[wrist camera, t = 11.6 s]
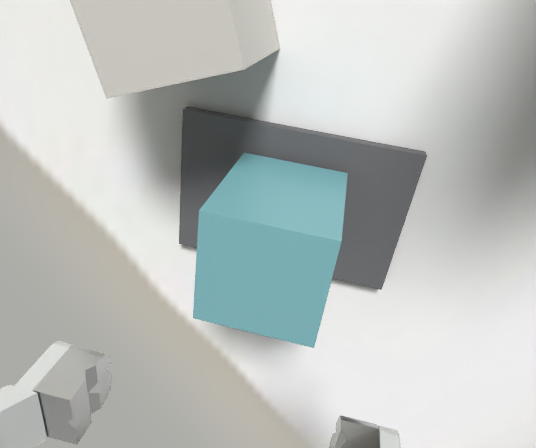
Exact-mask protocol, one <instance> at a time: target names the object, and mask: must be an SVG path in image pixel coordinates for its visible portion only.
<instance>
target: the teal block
mask: <svg viewBox="0 0 536 448" xmlns="http://www.w3.org/2000/svg"><path fill="white" fill-rule="evenodd" d="M347 176H348V173H345V172H340V171H335V170H330V169H325V168H320V167H315V166H310V165H305V164H299V163H294V162H289V161H284V160H279V159H274V158H269V157H264V156H259V155H254V154H249V153H244V154H243V155H242V156H241V157H240V159H239V160H238V161H237V162H236V164H235V165H234V166H233V168H232V169H231V170H230V171H229V173H228V174H227V175H226V177H225V178H224V179H223V180H222V182H221V183H220V184H219V186H218V187H217V188H216V189H215V191H214V192H213V193H212V195H211V196H210V197H209V198H208V200H207V201H206V202H205V204H204V205H203V206H202V207H201V209H200V210H199V221H198V239H197V257H196V275H195V293H194V311H193V318H195V319H199V320H203V321H207V322H211V323H215V324H219V325H223V326H227V327H232V328H236V329H240V330H244V331H248V332H252V333H256V334H260V335H264V336H268V337H272V338H276V339H280V340H284V341H288V342H292V343H296V344H300V345H304V346H308V347H312V348H314V346H315V342H316V338H317V334H318V330H319V326H320V322H321V319H322V315H323V311H324V307H325V303H326V299H327V295H328V292H329V288H330V284H331V280H332V276H333V272H334V269H335V265H336V261H337V257H338V253H339V249H340V245H341V242H342V231H343V220H344V209H345V198H346V187H347Z"/></svg>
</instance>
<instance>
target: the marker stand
mask: <svg viewBox="0 0 536 448" xmlns="http://www.w3.org/2000/svg"><path fill="white" fill-rule="evenodd" d="M244 153H249V154H254V155H259V156H264V157H269V158H274V159H279V160H284V161H289V162H294V163H299V164H305V165H310V166H315V167H320V168H325V169H330V170H335V171H340V172H345V173H348V176H347V187H346V198H345V209H344V220H343V231H342V242H341V245H340V249H339V253H338V257H337V261H336V265H335V269H334V272H333V276H332V279H337V280H341V281H345V282H350V283H354V284H359V285H363V286H367V287H372V288H376V289H382V286H383V283H384V280H385V278H386V275H387V272H388V269H389V266H390V263H391V260H392V257H393V254H394V251H395V248H396V245H397V242H398V239H399V236H400V233H401V230H402V227H403V225H404V222H405V219H406V216H407V213H408V210H409V207H410V204H411V201H412V198H413V195H414V192H415V189H416V186H417V183H418V180H419V177H420V174H421V171H422V169H423V166H424V163H425V160H426V157H427V155H426V153H425V152H423V151H418V150H413V149H408V148H402V147H397V146H392V145H386V144H381V143H376V142H370V141H365V140H360V139H355V138H349V137H344V136H339V135H333V134H328V133H323V132H318V131H312V130H307V129H302V128H296V127H291V126H286V125H280V124H275V123H270V122H265V121H259V120H254V119H249V118H243V117H238V116H233V115H228V114H222V113H217V112H212V111H206V110H201V109H196V108H190V107H186V108H185V109H183V127H182V161H181V195H180V230H179V244H183V245H187V246H191V247H196V248H197V239H198V221H199V210H200V209H201V207H202V206H203V205H204V204H205V202H206V201H207V200H208V198H209V197H210V196H211V195H212V193H213V192H214V191H215V189H216V188H217V187H218V186H219V184H220V183H221V182H222V180H223V179H224V178H225V177H226V175H227V174H228V173H229V171H230V170H231V169H232V168H233V166H234V165H235V164H236V162H237V161H238V160H239V159H240V157H241V156H242V155H243V154H244Z"/></svg>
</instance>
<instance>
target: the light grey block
mask: <svg viewBox="0 0 536 448" xmlns="http://www.w3.org/2000/svg"><path fill="white" fill-rule="evenodd" d="M70 2H71V5H72V7H73V10H74V13H75V15H76V18H77V21H78V24H79V26H80V29H81V32H82V34H83V37H84V40H85V42H86V45H87V48H88V50H89V53H90V56H91V58H92V61H93V64H94V66H95V69H96V72H97V74H98V77H99V80H100V83H101V85H102V88H103V91H104V93H105V96H106V99H107V98H112V97H117V96H122V95H126V94H131V93H136V92H141V91H145V90H150V89H155V88H160V87H164V86H169V85H174V84H179V83H184V82H188V81H193V80H198V79H203V78H207V77H212V76H217V75H222V74H227V73H231V72H236V71H241V70H245V69H246V68H248V67H250V66H251V65H253V64H255V63H257V62H258V61H260V60H262V59H263V58H265V57H267V56H268V55H270V54H272V53H274V52H275V51H277V50H279V49H280V48H279V42H278V37H277V32H276V26H275V21H274V15H273V10H272V5H271V0H70Z"/></svg>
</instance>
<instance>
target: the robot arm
mask: <svg viewBox="0 0 536 448" xmlns="http://www.w3.org/2000/svg"><path fill="white" fill-rule="evenodd" d="M109 365H110V357H109V355H107V354H103V353H100V352H96V351H92V350H89V349H86V348H82V347H79V346H75V345H72V344H68V343H65V342H61V341H57V342H55V343H53V344H52V345H51V346H50V347H49V348H48V349H47V350H46V351H45V353H44V354H43V355H42V356H41V357H40V358H39V359H38V360H37V361H36V362H35V363H34V364H33V366H32V367H31V368H30V369H29V370H28V371H27V372H26V373H25V374H24V375H23V377H22V378H21V379H20V380H19V381H18V382H17V383H16V385H14V386H12V385H7V386H5V387H3V388H1V389H0V448H35V447H36V446H38V445H39V444H41V443H42V442H44V441H45V440H46V439H47V437H50V438H54V439H58V440H62V441H65V442H69V443H73V444H78V442H79V441H80V439H81V437H82V436H83V435H84V433H85V432H86V430H87V429H88V427H89V425H90V424H91V413H93V412H95V411H97V410H98V409H100V408H101V407H102V405H103V404H104V402H105V400H106V399H107V396H108V393H109V391H110V389H111V382H112V376H111V373H110V372H109V371H108V370H107V368H108V366H109ZM329 448H400V437H399V433H398V431H397V430H394V429H390V428H386V427H382V426H377V424H373V423H369V422H365V421H360V420H356V419H352V418H348V417H344V416H339V418H338V421H337V424H336V433H334V434H333V435H332V439H331V442H330V447H329Z"/></svg>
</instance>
